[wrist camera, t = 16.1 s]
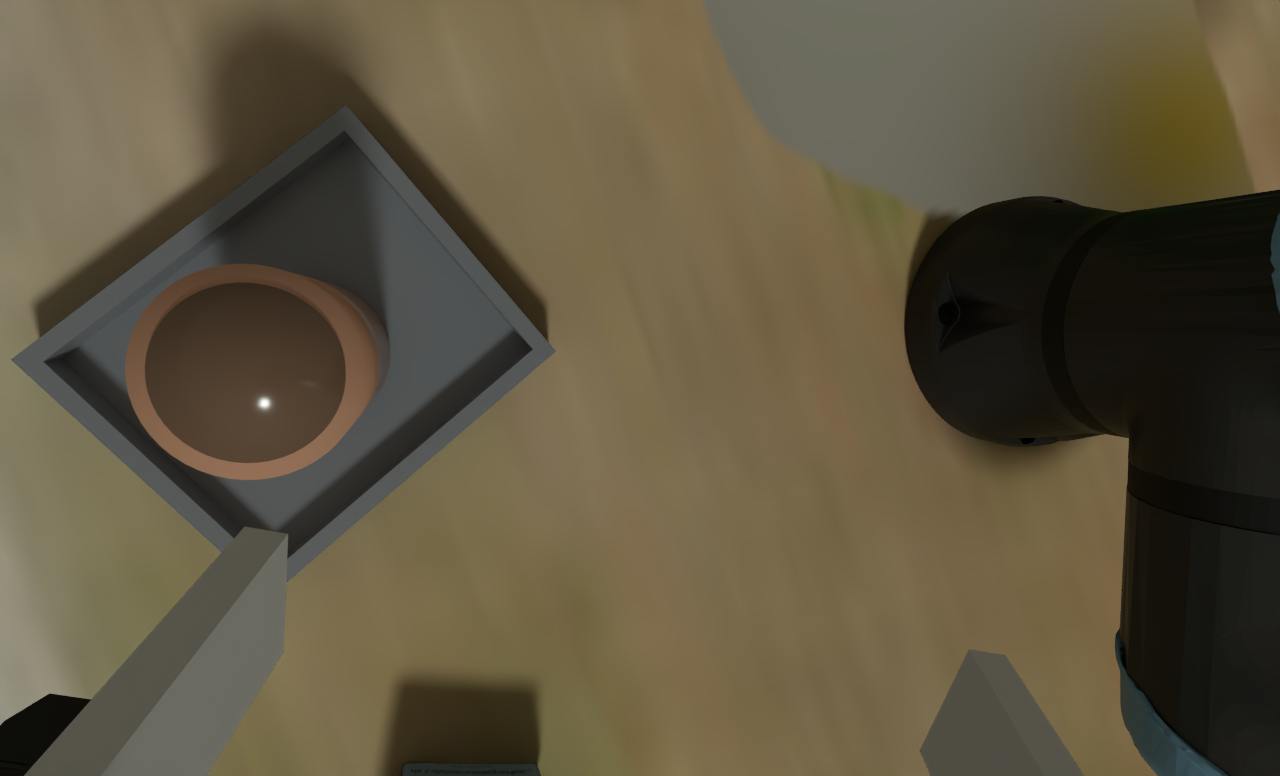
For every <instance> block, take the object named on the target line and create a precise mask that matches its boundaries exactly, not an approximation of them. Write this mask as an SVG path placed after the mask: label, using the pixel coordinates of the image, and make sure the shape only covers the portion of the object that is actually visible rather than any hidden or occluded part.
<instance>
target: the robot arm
mask: <svg viewBox="0 0 1280 776" xmlns="http://www.w3.org/2000/svg"><path fill="white" fill-rule="evenodd" d="M906 336H907V347H908V354H909V359H910V363H911V367H912V370H913V373H914V376H915V378H916V381H917V383H918V385H919V388H920V389H921V391H922V393H923V395H924V396H925V398H926V400H927V401H928V403H929V404H930V405H931V407H932V408H933V409H934V410H935V411H936V412H937V414H938V415H939V416H940V417H941V418H943V419H944V420H945V421H946V422H947V423H948V424H950V425H951V426H953V427H954V428H956V429H957V430H959V431H961V432H963V433H965V434H967V435H969V436H972V437H975V438H978V439H982V440H986V441H991V442H995V443H999V444H1004V445H1009V446H1022V447H1029V446H1040V445H1046V444H1051V443H1054V442H1058V441H1068V440H1075V439H1081V438H1086V437H1092V436H1098V435H1104V434H1108V435H1114V436H1120V437H1126V438H1129V451H1128V484H1127V492H1126V513H1125V533H1124V554H1123V574H1122V595H1121V615H1120V629H1119V630H1118V632H1117V633H1116V637H1115V653H1116V659H1117V662H1118V666H1119V668H1120V697H1121V712H1122V717H1123V720H1124V724H1125V726H1126V728H1127V730H1128V731H1129V732H1130V735H1131V737H1132V739H1133V742H1134V745H1135V746H1136V748H1137V749H1138V751H1139V753H1140V754H1141V756H1142V757H1143V759H1144V760H1145V761H1146V762H1147V764H1148V765H1149V766H1150V767H1151V768H1152V770H1153V771H1154V772H1155V773H1156V774H1157V775H1158V776H1280V190H1274V191H1268V192H1261V193H1255V194H1248V195H1242V196H1235V197H1229V198H1222V199H1215V200H1208V201H1201V202H1194V203H1187V204H1179V205H1172V206H1164V207H1158V208H1151V209H1144V210H1137V211H1131V212H1124V213H1121V212H1116V211H1109V210H1103V209H1097V208H1091V207H1085V206H1081V205H1079V204H1076V203H1074V202H1071V201H1067V200H1063V199H1059V198H1053V197H1044V196H1037V197H1036V196H1033V197H1022V198H1017V199H1012V200H1007V201H1002V202H997V203H992V204H989V205H986V206H983V207H980V208H977V209H975V210H973V211H971V212H969V213H968V214H966V215H964V216H963V217H961V218H960V219H959V220H957V221H956V222H955V223H953V224H952V225H951V226H950V227H949V228H948V229H947V230H946V231H945V232H944V233H943V234H942V235H941V236H940V237H939V238H938V239H937V241H936V242H935V243H934V245H933V246H932V247H931V249H930V250H929V252H928V254H927V255H926V257H925V259H924V260H923V262H922V264H921V266H920V268H919V271H918V273H917V276H916V278H915V281H914V284H913V287H912V290H911V294H910V299H909V304H908V311H907V322H906ZM287 553H288V534H286V533H280V532H274V531H268V530H262V529H257V528H251V527H244V528H243V529H242V530H241V531H240V532H239V534H238V535H237V536H236V537H235V538H234V539H233V540H232V542H231V543H230V544H229V545H228V546H227V547H226V548H225V549H224V551H223V552H222V553H221V554H220V555H219V556H218V557H217V558H216V560H215V561H214V562H213V563H212V564H211V565H210V566H209V567H208V569H207V570H206V571H205V572H204V573H203V574H202V575H201V577H200V578H199V579H198V580H197V581H196V582H195V583H194V584H193V586H192V587H191V588H190V589H189V590H188V591H187V592H186V593H185V595H184V596H183V597H182V598H181V599H180V600H179V601H178V602H177V604H176V605H175V606H174V607H173V608H172V609H171V610H170V611H169V613H168V614H167V615H166V616H165V617H164V618H163V619H162V621H161V622H160V623H159V624H158V625H157V626H156V627H155V628H154V630H153V631H152V632H151V633H150V634H149V635H148V636H147V637H146V639H145V640H144V641H143V642H142V643H141V644H140V645H139V646H138V648H137V649H136V650H135V651H134V652H133V653H132V654H131V656H130V657H129V658H128V659H127V660H126V661H125V662H124V663H123V665H122V666H121V667H120V668H119V669H118V670H117V671H116V672H115V674H114V675H113V676H112V677H111V678H110V679H109V680H108V681H107V683H106V684H105V685H104V686H103V687H102V688H101V689H100V691H99V692H98V693H97V694H96V695H95V696H94V697H93V698H92V700H90V699H83V698H76V697H69V696H62V695H56V694H48V695H47V696H45V697H43V698H42V699H40V700H38V701H37V702H35V703H33V704H32V705H30V706H28V707H27V708H25V709H24V710H22V711H20V712H19V713H17V714H15V715H14V716H12V717H10V718H9V719H7V720H6V721H4V722H3V723H2V724H1V725H0V776H207V775H208V773H209V771H210V770H211V768H212V766H213V765H214V763H215V762H216V760H217V758H218V757H219V755H220V754H221V752H222V750H223V749H224V747H225V746H226V744H227V742H228V741H229V739H230V737H231V736H232V734H233V733H234V731H235V729H236V728H237V726H238V725H239V723H240V721H241V720H242V718H243V716H244V715H245V713H246V712H247V710H248V708H249V707H250V705H251V704H252V702H253V700H254V699H255V697H256V696H257V694H258V692H259V691H260V689H261V687H262V686H263V684H264V683H265V681H266V679H267V678H268V676H269V675H270V673H271V671H272V670H273V668H274V666H275V665H276V663H277V662H278V660H279V658H280V657H281V655H282V654H283V652H284V633H285V606H286V579H287ZM920 752H921V754H922V757H923V759H924V761H925V764H926V766H927V768H928V771H929V773H930V775H931V776H1084V774H1083V773H1082V771H1081V770H1080V768H1079V767H1078V765H1077V764H1076V762H1075V761H1074V759H1073V758H1072V756H1071V755H1070V753H1069V751H1068V750H1067V748H1066V747H1065V745H1064V744H1063V742H1062V741H1061V739H1060V738H1059V736H1058V735H1057V733H1056V732H1055V730H1054V729H1053V727H1052V726H1051V724H1050V723H1049V721H1048V720H1047V718H1046V716H1045V715H1044V713H1043V712H1042V710H1041V709H1040V707H1039V706H1038V704H1037V703H1036V701H1035V700H1034V698H1033V697H1032V695H1031V694H1030V692H1029V691H1028V689H1027V688H1026V686H1025V685H1024V683H1023V681H1022V680H1021V678H1020V677H1019V675H1018V674H1017V672H1016V671H1015V669H1014V668H1013V666H1012V665H1011V663H1010V662H1009V660H1008V659H1007V657H1006V656H1005V655H1000V654H994V653H988V652H982V651H976V650H970V649H969V650H968V652H967V654H966V656H965V658H964V661H963V663H962V665H961V667H960V669H959V671H958V673H957V675H956V677H955V679H954V681H953V683H952V685H951V687H950V689H949V691H948V693H947V695H946V698H945V700H944V702H943V704H942V706H941V708H940V710H939V712H938V714H937V716H936V718H935V720H934V722H933V724H932V726H931V728H930V730H929V732H928V734H927V737H926V739H925V741H924V743H923V745H922V747H921V749H920Z"/></svg>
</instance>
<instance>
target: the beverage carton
mask: <svg viewBox="0 0 1280 776" xmlns="http://www.w3.org/2000/svg"><path fill="white" fill-rule="evenodd" d="M401 776H541V775H540V772H539V769H538V766H537V765H536V764H532V763H527V764H456V763H406V764H404V765H403V767H402V771H401Z"/></svg>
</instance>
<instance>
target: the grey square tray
mask: <svg viewBox="0 0 1280 776" xmlns="http://www.w3.org/2000/svg"><path fill="white" fill-rule="evenodd" d="M228 264H257V265H263V266H269V267H273V268H277V269H281V270H285V271H288V272H292V273H296V274H299V275H303V276H307V277H310V278H314V279H318V280H322V281H325V282H329V283H332V284H336V285H339V286H341V287H344V288H346V289H348V290H350V291H352V292H353V293H355V294H357V295H358V296H359V297H361V298H362V299H363V300H365V301H366V302H367V303H368V304H369V305H370V306H371V307H372V309H373V310H374V311H375V312H376V314H377V315H378V317H379V318H380V320H381V321H382V323H383V325H384V328H385V330H386V333H387V336H388V340H389V345H390V365H389V370H388V374H387V377H386V380H385V382H384V384H383V386H382V388H381V390H380V391H379V393H378V394H377V396H376V397H375V398H374V399H373V401H372V402H371V403H370V404H369V406H368V407H367V408H366V409H365V410H364V412H363V413H362V414H361V415H360V417H359V418H358V419H357V420H356V421H355V423H354V424H353V425H352V426H351V428H350V429H349V430H348V431H347V432H346V434H345V435H344V436H343V437H342V439H341V440H340V441H339V442H338V443H337V444H336V445H335V446H334V447H333V448H332V449H331V450H330V451H329V452H328V453H326V454H325V455H324V456H322V457H321V458H319V459H318V460H317V461H315V462H313V463H311V464H310V465H308V466H306V467H304V468H302V469H299V470H297V471H295V472H292V473H289V474H286V475H282V476H278V477H274V478H267V479H261V480H239V479H228V478H224V477H219V476H214V475H211V474H208V473H205V472H202V471H199V470H197V469H195V468H193V467H190V466H188V465H186V464H184V463H183V462H181V461H180V460H178V459H176V458H175V457H173V456H172V455H170V454H169V453H168V452H167V451H166V450H164V449H163V448H162V447H161V446H160V445H159V444H158V443H157V442H156V441H155V440H154V439H153V438H152V437H151V436H150V435H149V433H148V432H147V431H146V429H145V428H144V426H143V425H142V424H141V422H140V420H139V418H138V416H137V415H136V413H135V411H134V409H133V406H132V403H131V400H130V397H129V394H128V389H127V384H126V375H125V362H126V353H127V348H128V344H129V340H130V337H131V334H132V332H133V330H134V327H135V325H136V323H137V321H138V320H139V318H140V317H141V315H142V313H143V312H144V310H145V309H146V308H147V307H148V305H149V304H150V303H151V302H152V301H153V300H154V299H155V298H156V297H157V296H158V295H159V294H160V293H161V292H162V291H164V290H165V289H166V288H167V287H169V286H170V285H172V284H173V283H175V282H176V281H178V280H180V279H182V278H184V277H186V276H188V275H190V274H192V273H194V272H197V271H200V270H203V269H206V268H210V267H215V266H220V265H228ZM554 352H555V350H554V349H553V347H552V346H551V345H550V344H549V343H548V341H547V340H546V339H545V338H544V337H543V336H542V334H541V333H540V332H539V331H538V330H537V329H536V327H535V326H534V325H533V324H532V323H531V321H530V320H529V319H528V318H527V317H526V316H525V314H524V313H523V312H522V311H521V310H520V309H519V307H518V306H517V305H516V304H515V303H514V302H513V300H512V299H511V298H510V297H509V296H508V294H507V293H506V292H505V291H504V290H503V289H502V287H501V286H500V285H499V284H498V283H497V282H496V280H495V279H494V278H493V277H492V276H491V274H490V273H489V272H488V271H487V270H486V269H485V267H484V266H483V265H482V264H481V263H480V262H479V260H478V259H477V258H476V257H475V256H474V255H473V253H472V252H471V251H470V250H469V249H468V247H467V246H466V245H465V244H464V243H463V242H462V240H461V239H460V238H459V237H458V236H457V235H456V233H455V232H454V231H453V230H452V229H451V227H450V226H449V225H448V224H447V223H446V222H445V220H444V219H443V218H442V217H441V216H440V215H439V213H438V212H437V211H436V210H435V209H434V208H433V206H432V205H431V204H430V203H429V202H428V200H427V199H426V198H425V197H424V196H423V195H422V193H421V192H420V191H419V190H418V189H417V188H416V186H415V185H414V184H413V183H412V182H411V180H410V179H409V178H408V177H407V176H406V175H405V173H404V172H403V171H402V170H401V169H400V168H399V166H398V165H397V164H396V163H395V162H394V161H393V159H392V158H391V157H390V156H389V155H388V153H387V152H386V151H385V150H384V149H383V148H382V146H381V145H380V144H379V143H378V142H377V141H376V139H375V138H374V137H373V136H372V135H371V134H370V132H369V131H368V130H367V129H366V128H365V126H364V125H363V124H362V123H361V122H360V121H359V119H358V118H357V117H356V116H355V115H354V114H353V112H352V111H351V110H350V109H349V108H348V106H347V105H345V106H344V107H342V108H341V109H340V110H338V111H337V112H336V113H334V114H333V115H332V116H330V117H329V118H328V119H326V120H325V121H324V122H323V123H321V124H320V125H319V126H317V127H316V128H315V129H313V130H312V131H311V132H309V133H308V134H307V135H305V136H304V137H303V138H301V139H300V140H299V141H298V142H296V143H295V144H294V145H292V146H291V147H290V148H288V149H287V150H286V151H284V152H283V153H282V154H280V155H279V156H278V157H277V158H275V159H274V160H273V161H271V162H270V163H269V164H267V165H266V166H265V167H263V168H262V169H261V170H259V171H258V172H257V173H256V174H254V175H253V176H252V177H250V178H249V179H248V180H246V181H245V182H244V183H242V184H241V185H240V186H238V187H237V188H236V189H235V190H233V191H232V192H231V193H229V194H228V195H227V196H225V197H224V198H223V199H221V200H220V201H219V202H217V203H216V204H215V205H213V206H212V207H211V208H210V209H208V210H207V211H206V212H204V213H203V214H202V215H200V216H199V217H198V218H196V219H195V220H194V221H192V222H191V223H190V224H189V225H187V226H186V227H185V228H183V229H182V230H181V231H179V232H178V233H177V234H175V235H174V236H173V237H171V238H170V239H169V240H168V241H166V242H165V243H164V244H162V245H161V246H160V247H158V248H157V249H156V250H154V251H153V252H152V253H150V254H149V255H148V256H146V257H145V258H144V259H143V260H141V261H140V262H139V263H137V264H136V265H135V266H133V267H132V268H131V269H129V270H128V271H127V272H125V273H124V274H123V275H122V276H120V277H119V278H118V279H116V280H115V281H114V282H112V283H111V284H110V285H108V286H107V287H106V288H104V289H103V290H102V291H101V292H99V293H98V294H97V295H95V296H94V297H93V298H91V299H90V300H89V301H87V302H86V303H85V304H83V305H82V306H81V307H79V308H78V309H77V310H76V311H74V312H73V313H72V314H70V315H69V316H68V317H66V318H65V319H64V320H62V321H61V322H60V323H58V324H57V325H56V326H55V327H53V328H52V329H51V330H49V331H48V332H47V333H45V334H44V335H43V336H41V337H40V338H39V339H37V340H36V341H35V342H34V343H32V344H31V345H30V346H28V347H27V348H26V349H24V350H23V351H22V352H20V353H19V354H18V355H16V356H15V357H14V358H13V359H11V360H12V361H13V362H14V363H15V364H16V365H17V366H19V367H20V368H21V369H22V370H23V371H24V372H25V373H26V374H27V375H28V376H29V377H31V378H32V379H33V380H34V381H35V382H36V383H37V384H38V385H39V386H40V387H42V388H43V389H44V390H45V391H46V392H47V393H48V394H49V395H50V396H51V397H52V398H54V399H55V400H56V401H57V402H58V403H59V404H60V405H61V406H62V407H63V408H64V409H66V410H67V411H68V412H69V413H70V414H71V415H72V416H73V417H74V418H75V419H77V420H78V421H79V422H80V423H81V424H82V425H83V426H84V427H85V428H86V429H87V430H89V431H90V432H91V433H92V434H93V435H94V436H95V437H96V438H97V439H98V440H99V441H101V442H102V443H103V444H104V445H105V446H106V447H107V448H108V449H109V450H110V451H112V452H113V453H114V454H115V455H116V456H117V457H118V458H119V459H120V460H121V461H122V462H124V463H125V464H126V465H127V466H128V467H129V468H130V469H131V470H132V471H133V472H134V473H136V474H137V475H138V476H139V477H140V478H141V479H142V480H143V481H144V482H145V483H147V484H148V485H149V486H150V487H151V488H152V489H153V490H154V491H155V492H156V493H157V494H159V495H160V496H161V497H162V498H163V499H164V500H165V501H166V502H167V503H168V504H169V505H171V506H172V507H173V508H174V509H175V510H176V511H177V512H178V513H179V514H180V515H182V516H183V517H184V518H185V519H186V520H187V521H188V522H189V523H190V524H191V525H192V526H194V527H195V528H196V529H197V530H198V531H199V532H200V533H201V534H202V535H203V536H204V537H206V538H207V539H208V540H209V541H210V542H211V543H212V544H213V545H214V546H215V547H217V548H218V549H219V550H220V551H221V552H223V551H224V549H225V548H226V547H227V546H228V545H229V544H230V543H231V542H232V540H233V539H234V538H235V537H236V536H237V535H238V534H239V532H240V531H241V530H242V529H243V528H244V527H251V528H257V529H262V530H268V531H274V532H280V533H286V534H288V553H287V579H286V582H287V581H289V580H290V579H291V578H292V577H293V576H294V575H296V574H297V573H298V572H299V571H300V570H301V569H303V568H304V567H305V566H306V565H307V564H308V563H310V562H311V561H312V560H313V559H314V558H315V557H317V556H318V555H319V554H320V553H321V552H322V551H324V550H325V549H326V548H327V547H328V546H329V545H331V544H332V543H333V542H334V541H335V540H336V539H337V538H339V537H340V536H341V535H342V534H343V533H344V532H346V531H347V530H348V529H349V528H350V527H351V526H353V525H354V524H355V523H356V522H357V521H358V520H360V519H361V518H362V517H363V516H364V515H365V514H367V513H368V512H369V511H370V510H371V509H372V508H374V507H375V506H376V505H377V504H378V503H379V502H381V501H382V500H383V499H384V498H385V497H386V496H388V495H389V494H390V493H391V492H392V491H393V490H395V489H396V488H397V487H398V486H399V485H400V484H402V483H403V482H404V481H405V480H406V479H407V478H409V477H410V476H411V475H412V474H413V473H414V472H416V471H417V470H418V469H419V468H420V467H421V466H422V465H424V464H425V463H426V462H427V461H428V460H429V459H431V458H432V457H433V456H434V455H435V454H436V453H438V452H439V451H440V450H441V449H442V448H443V447H445V446H446V445H447V444H448V443H449V442H450V441H452V440H453V439H454V438H455V437H456V436H457V435H459V434H460V433H461V432H462V431H463V430H464V429H466V428H467V427H468V426H469V425H470V424H471V423H473V422H474V421H475V420H476V419H477V418H478V417H480V416H481V415H482V414H483V413H484V412H485V411H487V410H488V409H489V408H490V407H491V406H492V405H494V404H495V403H496V402H497V401H498V400H499V399H501V398H502V397H503V396H504V395H505V394H506V393H507V392H509V391H510V390H511V389H512V388H513V387H514V386H516V385H517V384H518V383H519V382H520V381H521V380H523V379H524V378H525V377H526V376H527V375H528V374H530V373H531V372H532V371H533V370H534V369H535V368H537V367H538V366H539V365H540V364H541V363H542V362H544V361H545V360H546V359H547V358H548V357H549V356H551V355H552V354H553V353H554Z"/></svg>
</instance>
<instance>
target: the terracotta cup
mask: <svg viewBox="0 0 1280 776" xmlns="http://www.w3.org/2000/svg"><path fill="white" fill-rule="evenodd" d="M389 365H390V345H389V340H388V336H387V333H386V330H385V328H384V325H383V323H382V321H381V320H380V318H379V317H378V315H377V314H376V312H375V311H374V310H373V309H372V307H371V306H370V305H369V304H368V303H367V302H366V301H365V300H363V299H362V298H361V297H359V296H358V295H357V294H355V293H353V292H352V291H350V290H348V289H346V288H344V287H341V286H339V285H336V284H332V283H329V282H325V281H322V280H318V279H314V278H310V277H307V276H303V275H299V274H296V273H292V272H288V271H285V270H281V269H277V268H273V267H269V266H263V265H257V264H228V265H220V266H215V267H210V268H206V269H203V270H200V271H197V272H194V273H192V274H190V275H188V276H186V277H184V278H182V279H180V280H178V281H176V282H175V283H173V284H172V285H170V286H169V287H167V288H166V289H165V290H164V291H162V292H161V293H160V294H159V295H158V296H157V297H156V298H155V299H154V300H153V301H152V302H151V303H150V304H149V305H148V307H147V308H146V309H145V310H144V312H143V313H142V315H141V317H140V318H139V320H138V321H137V323H136V325H135V327H134V330H133V332H132V334H131V337H130V340H129V344H128V348H127V353H126V362H125V375H126V384H127V389H128V394H129V397H130V400H131V403H132V406H133V409H134V411H135V413H136V415H137V416H138V418H139V420H140V422H141V424H142V425H143V426H144V428H145V429H146V431H147V432H148V433H149V435H150V436H151V437H152V438H153V439H154V440H155V441H156V442H157V443H158V444H159V445H160V446H161V447H162V448H163V449H164V450H166V451H167V452H168V453H169V454H170V455H172V456H173V457H175V458H176V459H178V460H180V461H181V462H183V463H184V464H186V465H188V466H190V467H193V468H195V469H197V470H199V471H202V472H205V473H208V474H211V475H214V476H219V477H224V478H228V479H239V480H261V479H267V478H274V477H278V476H282V475H286V474H289V473H292V472H295V471H297V470H299V469H302V468H304V467H306V466H308V465H310V464H311V463H313V462H315V461H317V460H318V459H319V458H321V457H322V456H324V455H325V454H326V453H328V452H329V451H330V450H331V449H332V448H333V447H334V446H335V445H336V444H337V443H338V442H339V441H340V440H341V439H342V437H343V436H344V435H345V434H346V432H347V431H348V430H349V429H350V428H351V426H352V425H353V424H354V423H355V421H356V420H357V419H358V418H359V417H360V415H361V414H362V413H363V412H364V410H365V409H366V408H367V407H368V406H369V404H370V403H371V402H372V401H373V399H374V398H375V397H376V396H377V394H378V393H379V391H380V390H381V388H382V386H383V384H384V382H385V380H386V377H387V374H388V370H389Z"/></svg>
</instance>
